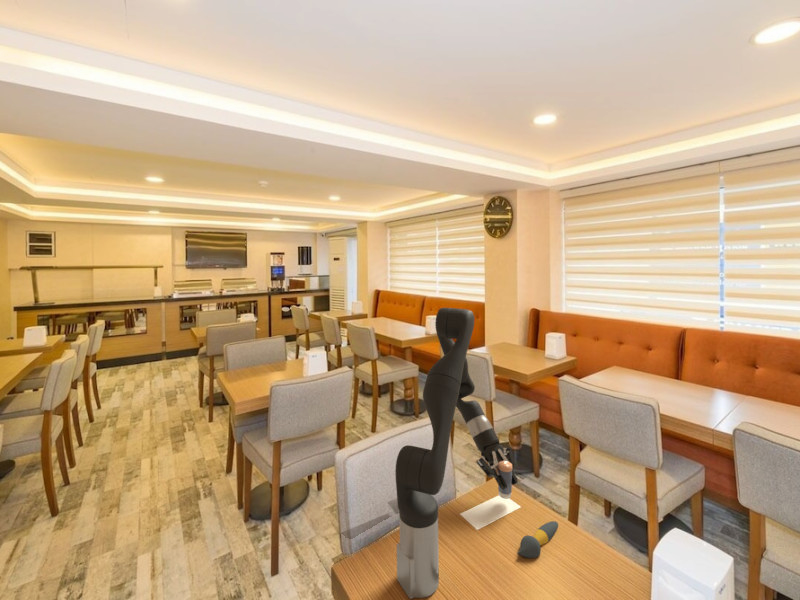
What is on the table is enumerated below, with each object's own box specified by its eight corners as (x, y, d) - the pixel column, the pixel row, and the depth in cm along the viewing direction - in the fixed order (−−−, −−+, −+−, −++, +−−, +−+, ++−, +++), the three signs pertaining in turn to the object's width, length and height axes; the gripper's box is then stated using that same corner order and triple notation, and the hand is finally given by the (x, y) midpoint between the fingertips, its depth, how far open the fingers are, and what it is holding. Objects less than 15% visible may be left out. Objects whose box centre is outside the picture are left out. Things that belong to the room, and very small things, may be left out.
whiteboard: (476, 537, 99) (476, 532, 99) (455, 518, 107) (455, 513, 107) (525, 511, 109) (525, 507, 109) (503, 495, 117) (503, 491, 117)
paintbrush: (544, 520, 105) (544, 504, 105) (561, 529, 102) (561, 512, 101) (512, 561, 91) (513, 543, 91) (531, 573, 88) (532, 554, 87)
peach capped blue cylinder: (504, 500, 108) (505, 469, 107) (495, 493, 112) (495, 463, 110) (514, 496, 110) (515, 465, 109) (504, 488, 114) (505, 459, 112)
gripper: (471, 433, 112) (500, 490, 102) (503, 422, 119) (533, 475, 110) (460, 442, 117) (486, 497, 108) (492, 431, 124) (519, 482, 115)
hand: (510, 485), depth 109 cm, fingers closed on peach capped blue cylinder, 4 cm apart
